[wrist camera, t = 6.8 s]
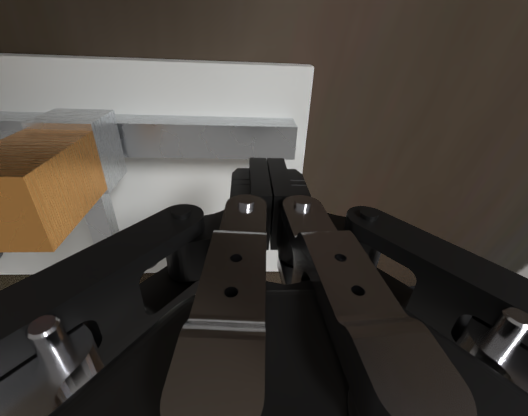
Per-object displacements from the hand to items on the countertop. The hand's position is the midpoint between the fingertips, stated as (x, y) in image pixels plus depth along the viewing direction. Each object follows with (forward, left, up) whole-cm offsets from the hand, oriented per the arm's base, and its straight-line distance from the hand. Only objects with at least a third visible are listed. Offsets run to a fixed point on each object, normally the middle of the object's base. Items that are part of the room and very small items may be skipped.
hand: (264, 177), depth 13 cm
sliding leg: (+4, -9, -5) cm, 11 cm away
